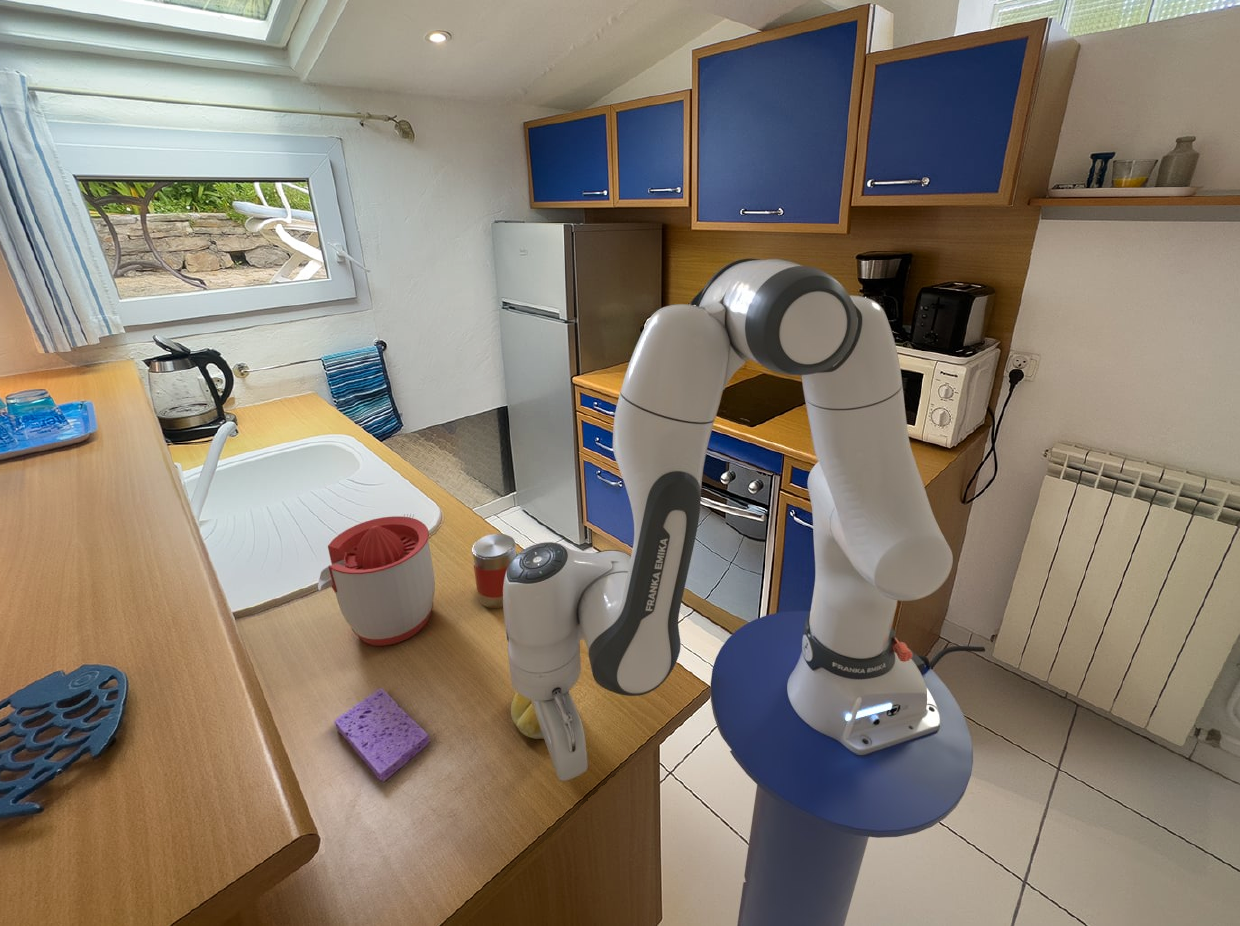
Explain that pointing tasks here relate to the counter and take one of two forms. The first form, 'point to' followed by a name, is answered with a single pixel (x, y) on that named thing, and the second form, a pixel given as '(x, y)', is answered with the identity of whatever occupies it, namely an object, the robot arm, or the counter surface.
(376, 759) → the sponge
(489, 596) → the tin can
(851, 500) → the robot arm
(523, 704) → the bread roll
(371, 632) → the citrus juicer
